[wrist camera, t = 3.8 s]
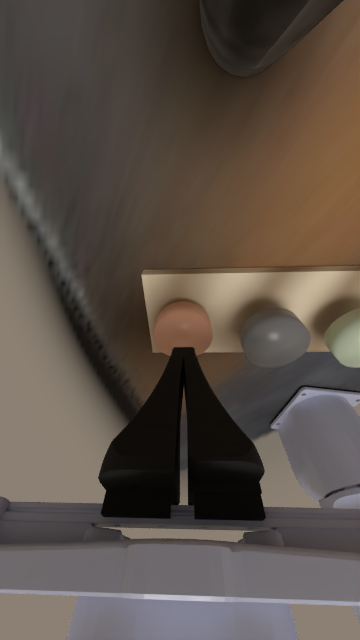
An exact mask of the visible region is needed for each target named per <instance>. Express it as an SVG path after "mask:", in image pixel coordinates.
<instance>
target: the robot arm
mask: <svg viewBox="0 0 360 640" xmlns="http://www.w3.org/2000/svg"><path fill="white" fill-rule="evenodd" d="M183 388H184V389H185V399H186V410H187V432H188V505H178V504H179V503H180V421H181V409H182V398H183ZM359 402H360V393H356V392H347V391H338V390H329V389H321V388H312V387H303V388H301V389H300V390H299V391H298V393H297V394H296V395H295V396H294V397H293V399H292V400H291V401H290V402H289V403H288V405H287V406H286V407H285V408H284V409H283V410H282V412H281V413H280V414H279V415H278V416H277V418H276V419H275V420H274V421H273V422H272V424H271V425H270V426H271V428H272V429H277V430H278V432H279V435H280V437H281V440H282V443H283V446H284V448H285V451H286V453H287V456H288V459H289V461H290V464H291V467H292V469H293V472H294V475H295V477H296V479H297V481H298V483H299V484H300V486H301V487H302V488H303V490H304V491H305V492H306V493H307V494H308V495H309V496H310V497H311V498H312V499H313V500H314V501H316V502H318V503H319V504H320V506H321V508H289V507H287V508H286V507H263V503H262V499H261V493H262V492H261V487H260V483H259V481H260V480H261V478H262V476H263V475H264V467H263V464H262V461H261V459H260V456H259V454H258V452H257V449H256V447H255V445H254V443H253V442H252V441H251V440H250V439H249V438H248V437H247V436H246V434H245V433H244V432H243V431H242V430H241V429H240V428H239V426H238V425H237V424H236V423H235V422H234V420H233V419H232V418H231V417H230V415H229V414H228V413H227V411H226V410H225V409H224V407H223V406H222V404H221V403H220V401H219V400H218V399H217V397H216V395H215V394H214V392H213V391H212V389H211V387H210V385H209V384H208V382H207V380H206V378H205V376H204V374H203V372H202V369H201V367H200V365H199V362H198V360H197V357H196V353H195V348H193V347H174V348H173V349H172V353H171V356H170V359H169V361H168V364H167V366H166V368H165V370H164V372H163V374H162V376H161V378H160V380H159V382H158V384H157V385H156V387H155V389H154V390H153V392H152V394H151V395H150V397H149V398H148V399H147V401H146V402H145V404H144V405H143V406H142V408H141V409H140V410H139V412H138V413H137V414H136V415H135V416H134V418H133V419H132V420H131V421H130V423H129V424H128V425H127V426H126V427H125V428H124V429H123V430H122V432H120V433H119V434H118V436H117V437H116V438H115V439H114V440H113V441H112V442H111V444H110V446H109V448H108V450H107V453H106V455H105V457H104V460H103V463H102V466H101V470H100V474H99V477H98V478H99V481H100V483H101V484H102V486H103V487H104V488H105V489H106V494H105V498H104V502H103V504H97V503H96V504H95V503H48V502H47V503H45V502H9V500H8V499H6V498H4V497H0V593H20V594H44V595H70V596H77V598H76V602H75V606H74V610H73V614H72V618H71V621H70V625H69V629H68V633H67V637H66V640H298V636H297V632H296V628H295V623H294V619H293V615H292V611H291V607H290V603H291V604H320V605H322V604H323V605H351V607H352V609H353V610H354V612H355V614H356V616H357V618H358V620H359V622H360V417H359V416H358V414H357V413H356V411H355V410H354V409H353V407H355V406H356V405H357V404H358V403H359ZM102 527H124V528H165V529H166V528H167V529H168V528H169V529H205V530H246V531H247V530H248V531H254V532H245V533H244V535H243V539H241V540H239V541H238V542H226V541H213V540H197V539H130V538H128V537H125V536H123V535H122V533H121V530H115V529H109V528H102Z"/></svg>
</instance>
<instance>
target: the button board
mask: <svg viewBox="0 0 360 640" xmlns="http://www.w3.org/2000/svg"><path fill="white" fill-rule="evenodd" d="M142 282H143V289H144V296H145V302H146V309H147V316H148V323H149V329H150V336H151V343H152V350H153V353H163V352H162V351H161V350H160V349H159V348H158V347H157V346H156V344H155V342H154V329H155V324H156V319H157V316H158V314H159V313H160V311H161V310H162V309H163V308H165V307H166V306H168V305H170V304H172V303H175V302H191V303H194V304H197V305H199V306H200V307H202V308H203V309H204V310H205V311H206V312H207V314H208V316H209V318H210V323H211V328H212V334H213V338H212V342H211V345H210V346H209V348H208V349H207V350H206V351H205V352H244V351H243V348H242V345H241V343H240V339H239V332H240V329H241V326H242V325H243V323H244V322H245V321H246V320H247V319H248V318H249V317H250V316H252V315H253V314H255V313H257V312H259V311H261V310H264V309H268V308H285V309H288V310H290V311H292V312H293V313H294V314H295V315H296V316H297V317H298V318H299V319H300V321H301V322H302V323H303V324H304V325H305V327H306V328H307V329H308V331H309V332H310V336H311V341H310V345H309V347H308V349H307V350H306V351H305V352H331V351H330V350H329V349H328V348H327V347H326V345H325V343H324V336H325V333H326V331H327V329H328V328H329V327H330V325H331V324H332V323H333V322H334V321H335V320H337V319H338V318H339V317H341V316H342V315H344V314H346V313H348V312H350V311H352V310H355V309H358V308H360V266H312V267H260V268H208V269H156V270H143V272H142Z"/></svg>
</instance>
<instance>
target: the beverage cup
mask: <svg viewBox="0 0 360 640" xmlns="http://www.w3.org/2000/svg"><path fill="white" fill-rule="evenodd" d="M342 1H343V0H199V4H200V14H201V26H202V30H203V34H204V37H205V40H206V44H207V47H208V50H209V51H210V53H211V55H212V56H213V58H214V59H215V61H216V63H217V64H218V66H220V67H221V68H222V69H224V70H225V71H226V72H228V73H229V74H230V75H234V76H240V77H248V76H251V75H255V74H258V73H261V72H262V71H263V70H265V69H266V68H267V67H268V66H270V65H271V64H272V63H274V62H275V61H276V60H277V59H279V58H280V57H281V56H282V55H284V54H285V53H286V52H288V51H289V50H290V49H291V48H293V47H294V46H295V45H296V44H297V43H298V42H299V41H300V40H301V39H302V38H303V37H304V36H305V35H306V34H308V33H309V32H310V31H311V30H312V29H313V28H314V27H315V26H316V25H317V24H318V23H319V22H320V21H321V20H323V19H324V18H325V17H326V16H327V15H328V14H329V13H330V12H331V11H332V10H333V9H334V8H335V7H336V6H338V5H339V4H340V3H341V2H342Z"/></svg>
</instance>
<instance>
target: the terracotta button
mask: <svg viewBox="0 0 360 640" xmlns="http://www.w3.org/2000/svg"><path fill="white" fill-rule="evenodd" d="M212 338H213V334H212V328H211V323H210V318H209V316H208V314H207V312H206V311H205V310H204V309H203V308H202V307H200V306H199V305H197V304H194V303H191V302H175V303H172V304H170V305H168V306H166V307H165V308H163V309H162V310H161V311H160V313H159V314H158V316H157V319H156V324H155V329H154V342H155V344H156V346H157V347H158V348H159V349H160V350H161V351H162V352H163V353H165V354H166V355H168V356H171V353H172V349H173V348H174V347H193V348H195V353H196V356H198V355H200V354H202V353H203V352H205V351H206V350H207V349H208V348H209V346H210V345H211V342H212Z"/></svg>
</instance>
